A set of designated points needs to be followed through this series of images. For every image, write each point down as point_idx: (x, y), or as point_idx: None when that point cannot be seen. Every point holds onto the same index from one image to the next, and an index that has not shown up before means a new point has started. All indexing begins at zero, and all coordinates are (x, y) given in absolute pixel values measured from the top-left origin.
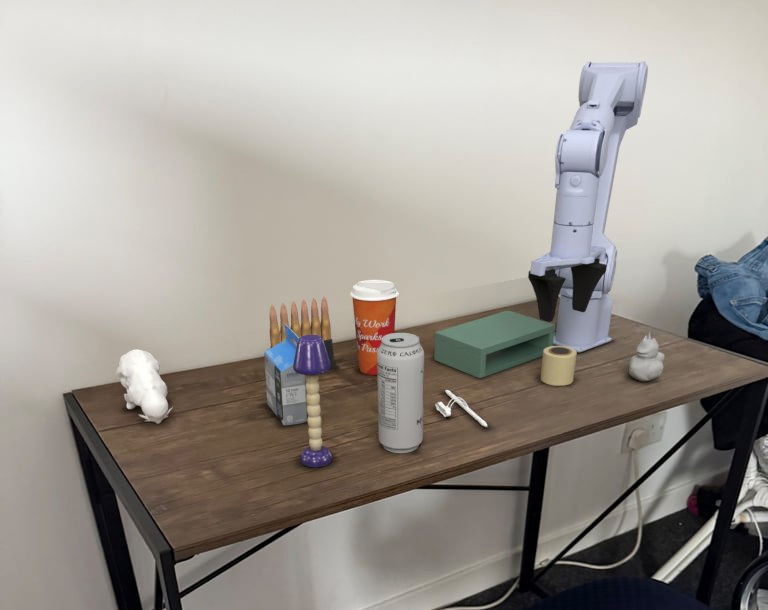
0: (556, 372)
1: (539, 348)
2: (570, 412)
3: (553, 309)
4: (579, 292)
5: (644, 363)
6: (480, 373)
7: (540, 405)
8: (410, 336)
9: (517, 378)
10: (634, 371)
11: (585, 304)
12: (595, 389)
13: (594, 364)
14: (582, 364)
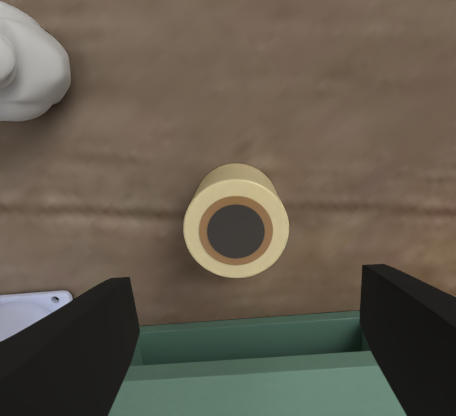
0: (272, 186)
1: (148, 349)
2: (370, 22)
3: (423, 287)
4: (92, 384)
5: (26, 33)
6: None
7: (393, 108)
8: None
9: (305, 263)
10: (66, 59)
11: (110, 291)
12: (198, 99)
13: (83, 220)
14: (109, 237)
